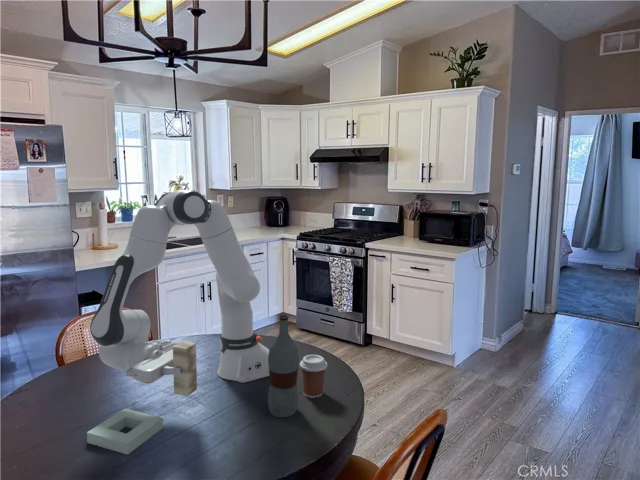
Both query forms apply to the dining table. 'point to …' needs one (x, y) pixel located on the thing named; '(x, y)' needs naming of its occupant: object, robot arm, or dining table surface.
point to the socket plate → (123, 442)
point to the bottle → (283, 373)
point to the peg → (185, 368)
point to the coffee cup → (313, 375)
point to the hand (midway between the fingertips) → (187, 367)
